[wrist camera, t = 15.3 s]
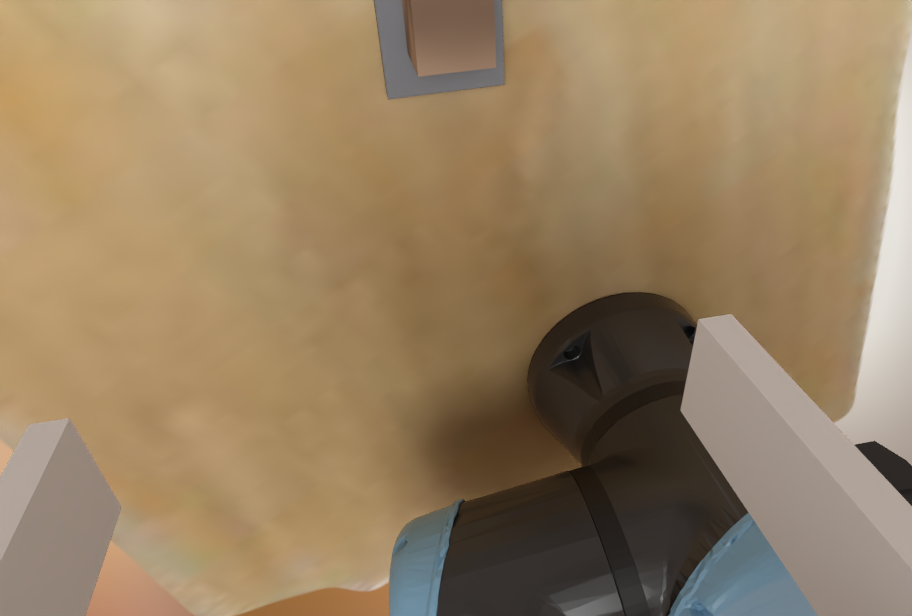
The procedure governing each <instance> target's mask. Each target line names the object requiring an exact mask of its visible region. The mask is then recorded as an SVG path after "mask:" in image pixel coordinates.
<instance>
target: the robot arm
mask: <svg viewBox="0 0 912 616" xmlns="http://www.w3.org/2000/svg"><path fill="white" fill-rule="evenodd" d="M528 391H529V395H530V398H531V400H532V403H533V405H534V408H535V411H536V413H537V415H538V417H539V419H540V421H541V422H542V424H543V425H544V427H545V428H546V429H547V430H548V431H549V432H550V433H551V434H552V435H553V436H554V437H555V438H556V439H557V440H558V441H559V442H560V443H561V444H562V445H563V446H564V447H565V448H566V449H567V450H568V451H569V452H570V454H571V455H572V456H573V457H574V458H575V459H576V460H577V461H578V462H579V463H580V464H581V465H582V467H581V468H578V469H574V470H571V471H566V472H563V473H559V474H556V475H553V476H549V477H546V478H543V479H540V480H536V481H533V482H530V483H526V484H523V485H520V486H517V487H513V488H510V489H507V490H503V491H500V492H497V493H494V494H490V495H487V496H484V497H480V498H477V499H473V500H470V501H466V502H465V500H463V499H460V500H457V501H455V502H454V503H453V505H451V506H448V507H445V508H443V509H440V510H437V511H434V512H431V513H429V514H426V515H423V516H420V517H417V518H415V519H413V520H412V521H410V522H409V523H408V524H406V525H405V527H404V528H403V529H402V530H401V532H400V534H399V535H398V537H397V540H396V542H395V545H394V549H393V553H392V560H391V567H390V579H389V614H390V616H912V466H911V465H910V464H909V463H908V462H907V461H906V460H905V459H903V458H901V457H900V456H898V455H897V454H895V453H893V452H892V451H890V450H888V449H887V448H885V447H883V446H882V445H880V444H879V443H877V442H875V441H873V442H867V443H862V444H856V445H854V444H853V443H852V442H851V441H850V440H849V439H848V438H847V437H846V436H845V435H844V434H843V432H842V431H841V430H840V429H839V428H838V427H837V426H836V425H835V424H834V423H833V422H832V421H831V420H830V419H829V418H828V416H827V415H826V414H825V413H824V412H823V411H822V410H821V409H820V408H819V407H818V406H817V405H816V404H815V403H814V402H813V401H812V399H811V398H810V397H809V396H808V395H807V394H806V393H805V392H804V391H803V390H802V389H801V388H800V387H799V386H798V385H797V383H796V382H795V381H794V380H793V379H792V378H791V377H790V376H789V375H788V374H787V373H786V372H785V371H784V370H783V369H782V367H781V366H780V365H779V364H778V363H777V362H776V361H775V360H774V359H773V358H772V357H771V356H770V355H769V354H768V353H767V352H766V350H765V349H764V348H763V347H762V346H761V345H760V344H759V343H758V342H757V341H756V340H755V339H754V338H753V337H752V336H751V334H750V333H749V332H748V331H747V330H746V329H745V328H744V327H743V326H742V325H741V324H740V323H739V322H738V321H737V320H736V318H735V317H734V316H733V315H732V314H728V315H722V316H715V317H709V318H702V319H698V324H696V323H695V321H694V320H693V319H692V318H691V317H690V315H689V314H688V313H687V312H686V311H685V310H684V309H683V308H682V307H681V306H680V305H678V304H677V303H675V302H673V301H672V300H670V299H667V298H665V297H662V296H658V295H654V294H647V293H627V294H620V295H614V296H610V297H606V298H603V299H600V300H598V301H595V302H592V303H590V304H588V305H586V306H584V307H582V308H580V309H578V310H577V311H575V312H573V313H572V314H570V315H569V316H567V317H566V318H565V319H563V320H562V321H561V322H560V323H559V324H557V325H556V326H555V327H554V328H553V329H552V330H551V331H550V332H549V333H548V335H547V336H546V337H545V338H544V340H543V341H542V342H541V344H540V345H539V347H538V348H537V350H536V352H535V354H534V356H533V358H532V361H531V364H530V367H529V372H528ZM120 510H121V505H120V504H119V502H118V500H117V499H116V497H115V495H114V493H113V492H112V490H111V488H110V486H109V485H108V483H107V481H106V480H105V478H104V476H103V474H102V473H101V471H100V469H99V468H98V466H97V464H96V462H95V461H94V459H93V457H92V456H91V454H90V452H89V450H88V449H87V447H86V445H85V443H84V442H83V440H82V438H81V437H80V435H79V433H78V431H77V430H76V428H75V426H74V425H73V423H72V421H71V419H70V418H67V419H61V420H55V421H48V422H42V423H36V424H29V425H28V427H27V429H26V430H25V432H24V434H23V436H22V438H21V440H20V441H19V443H18V445H17V447H16V449H15V450H14V452H13V454H12V456H11V458H10V460H9V461H8V463H7V465H6V467H5V468H4V470H3V472H2V474H1V476H0V616H85V615H86V613H87V609H88V606H89V603H90V600H91V597H92V594H93V591H94V588H95V585H96V582H97V579H98V576H99V573H100V570H101V567H102V564H103V561H104V558H105V555H106V552H107V549H108V546H109V543H110V540H111V537H112V534H113V531H114V528H115V525H116V522H117V519H118V516H119V513H120Z"/></svg>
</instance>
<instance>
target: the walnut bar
mask: <svg viewBox="0 0 912 616" xmlns="http://www.w3.org/2000/svg"><path fill="white" fill-rule="evenodd" d="M402 6H403V15H404V24H405V33H406V43H407V52H408V55H409V58H410V60H411V62H412V64H413V66H414V68H415V71H416V73H417V75H418V77H420V76H429V75H437V74H446V73H454V72H463V71H471V70H479V69H488V68H496V46H495V13H494V0H402Z"/></svg>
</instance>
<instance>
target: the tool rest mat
mask: <svg viewBox="0 0 912 616" xmlns="http://www.w3.org/2000/svg"><path fill="white" fill-rule="evenodd" d="M374 5H375V12H376V19H377V27H378V34H379V41H380V48H381V56H382V63H383V70H384V78H385V85H386V92H387V97H388V99H395V98H403V97H411V96H419V95H427V94H434V93H442V92H450V91H458V90H466V89H474V88H482V87H490V86H497V85H504V52H503V16H502V0H494V13H495V46H496V68H488V69H479V70H471V71H463V72H454V73H446V74H437V75H429V76H420V77H418V75H417V73H416V71H415V68H414V66H413V64H412V62H411V60H410V58H409V55H408V52H407V43H406V33H405V24H404V15H403V6H402V0H374Z"/></svg>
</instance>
